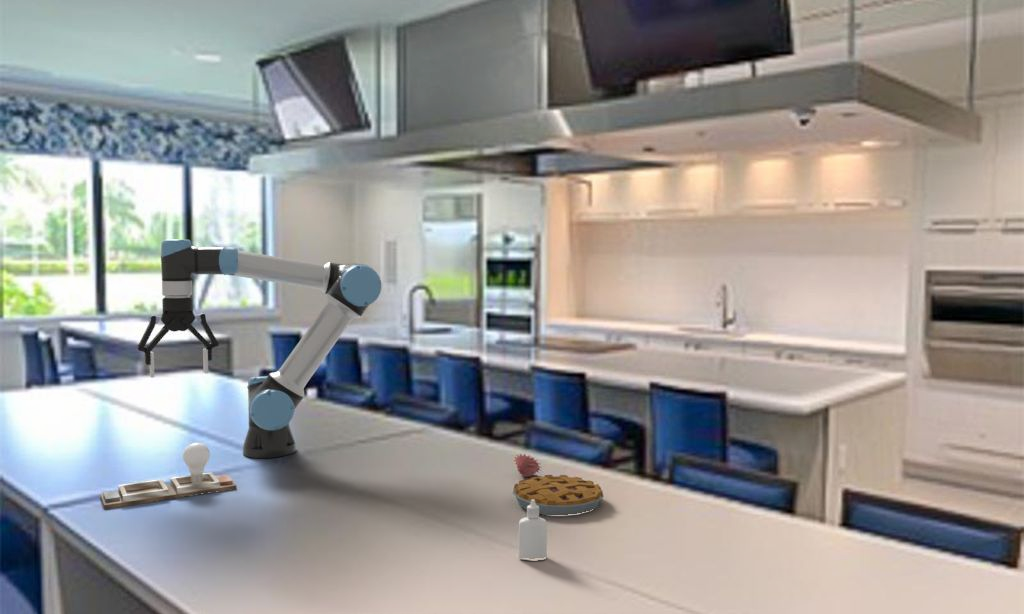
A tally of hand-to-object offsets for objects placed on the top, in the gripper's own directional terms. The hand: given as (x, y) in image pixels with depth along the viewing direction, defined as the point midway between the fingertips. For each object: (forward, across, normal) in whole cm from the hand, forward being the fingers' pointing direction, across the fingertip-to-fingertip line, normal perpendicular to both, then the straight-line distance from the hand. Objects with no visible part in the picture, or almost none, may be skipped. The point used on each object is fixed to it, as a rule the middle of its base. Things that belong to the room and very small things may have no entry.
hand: (179, 374), depth 214 cm
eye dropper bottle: (+27, -49, +100) cm, 115 cm away
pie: (+27, -73, +75) cm, 108 cm away
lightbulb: (+26, 0, +19) cm, 32 cm away
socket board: (+27, +6, +19) cm, 33 cm away
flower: (+27, -79, +52) cm, 98 cm away
